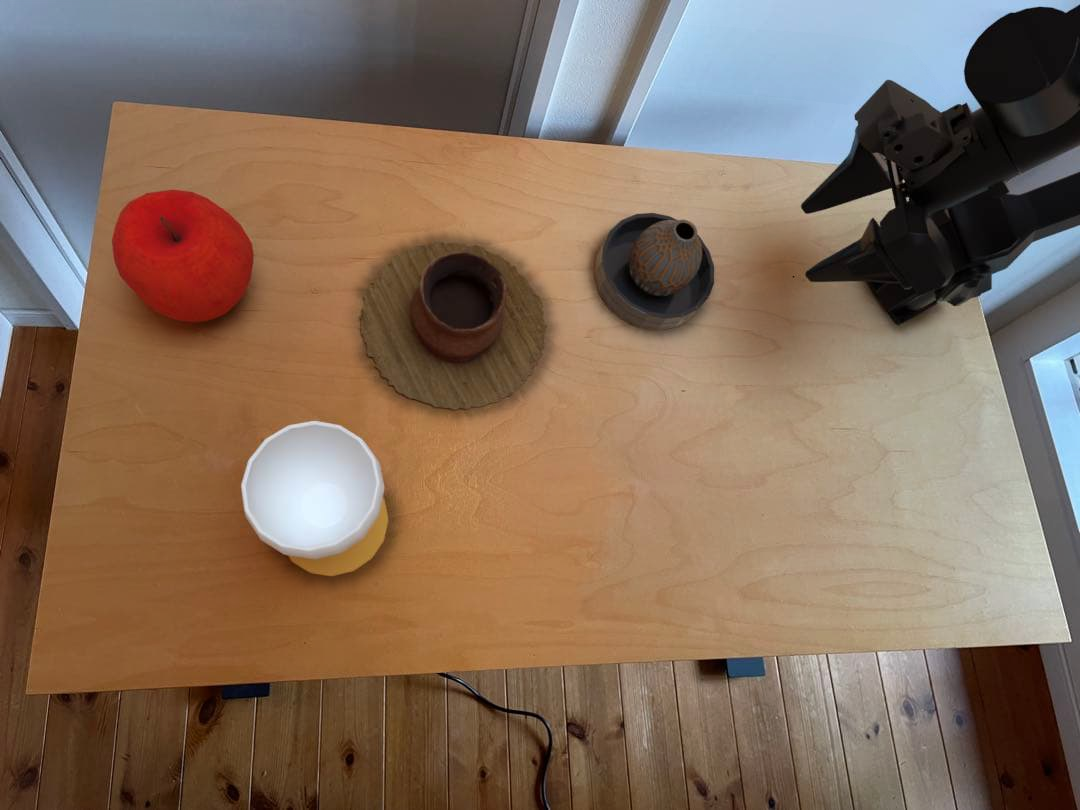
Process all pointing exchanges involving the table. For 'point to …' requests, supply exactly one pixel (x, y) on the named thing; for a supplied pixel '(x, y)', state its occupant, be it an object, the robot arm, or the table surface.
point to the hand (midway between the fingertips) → (805, 242)
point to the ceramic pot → (453, 325)
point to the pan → (628, 296)
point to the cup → (317, 497)
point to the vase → (665, 257)
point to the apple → (182, 254)
